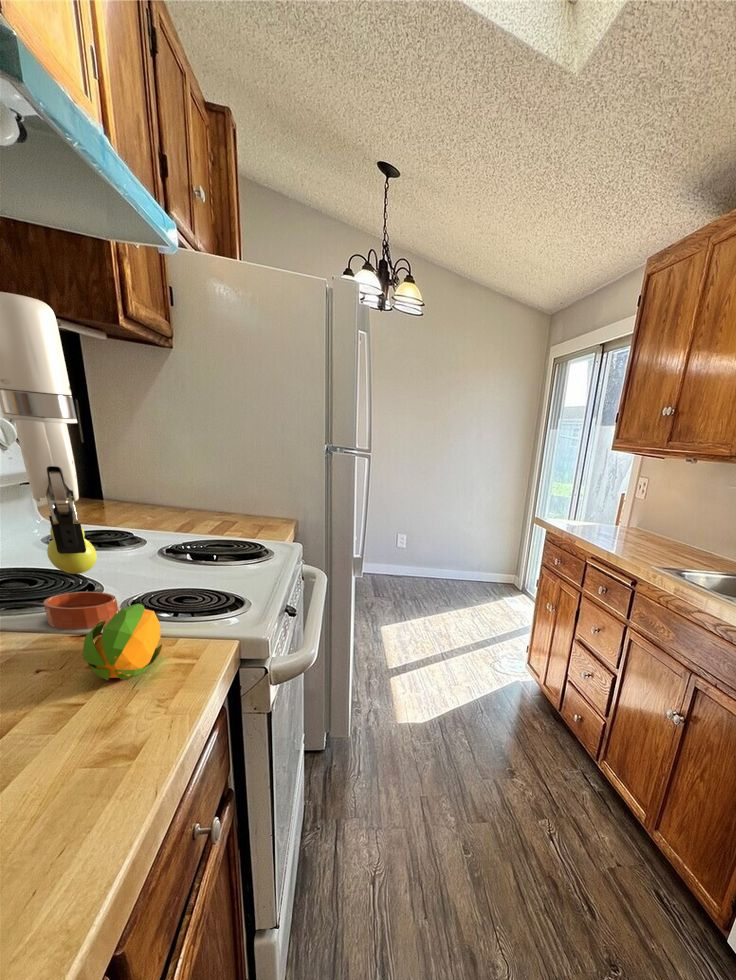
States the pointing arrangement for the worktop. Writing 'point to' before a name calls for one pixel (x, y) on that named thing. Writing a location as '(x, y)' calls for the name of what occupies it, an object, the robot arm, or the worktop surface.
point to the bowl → (80, 610)
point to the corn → (124, 643)
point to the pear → (72, 557)
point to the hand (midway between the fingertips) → (70, 546)
